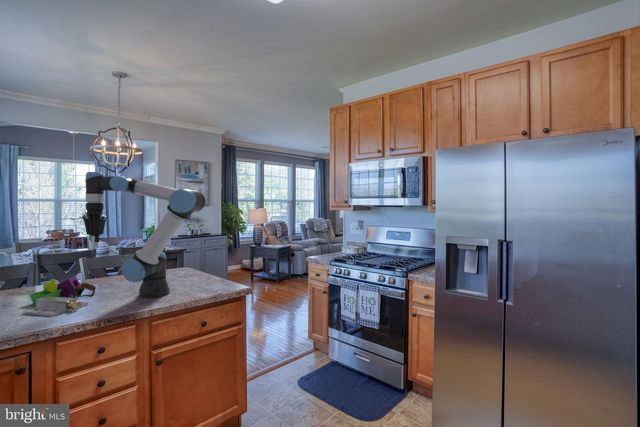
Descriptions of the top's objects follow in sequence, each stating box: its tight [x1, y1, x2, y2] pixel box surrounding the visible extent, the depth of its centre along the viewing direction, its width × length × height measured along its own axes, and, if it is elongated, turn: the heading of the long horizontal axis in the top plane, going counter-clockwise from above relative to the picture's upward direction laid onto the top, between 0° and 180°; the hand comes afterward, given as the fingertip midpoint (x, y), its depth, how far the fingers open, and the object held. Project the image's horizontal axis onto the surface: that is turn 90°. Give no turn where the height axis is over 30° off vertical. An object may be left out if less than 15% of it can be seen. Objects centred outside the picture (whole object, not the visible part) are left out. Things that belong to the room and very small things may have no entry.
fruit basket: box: [29, 278, 61, 305], centre depth 164 cm, size 11×9×11 cm
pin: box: [68, 300, 82, 311], centre depth 152 cm, size 18×4×4 cm, turn 80°
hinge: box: [21, 296, 89, 318], centre depth 152 cm, size 16×18×5 cm
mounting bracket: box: [57, 275, 81, 298], centre depth 176 cm, size 10×8×18 cm
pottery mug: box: [71, 281, 97, 298], centre depth 174 cm, size 12×10×8 cm
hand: (94, 248), depth 168 cm, fingers closed
